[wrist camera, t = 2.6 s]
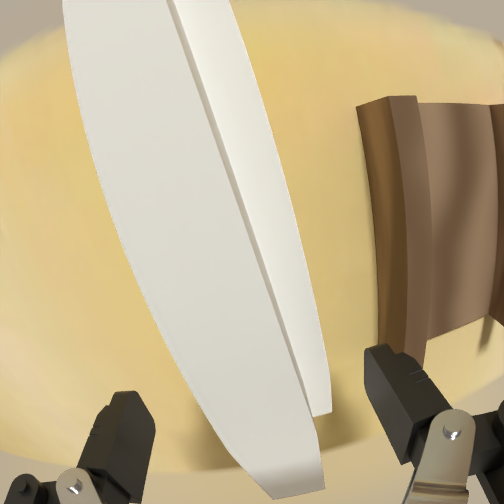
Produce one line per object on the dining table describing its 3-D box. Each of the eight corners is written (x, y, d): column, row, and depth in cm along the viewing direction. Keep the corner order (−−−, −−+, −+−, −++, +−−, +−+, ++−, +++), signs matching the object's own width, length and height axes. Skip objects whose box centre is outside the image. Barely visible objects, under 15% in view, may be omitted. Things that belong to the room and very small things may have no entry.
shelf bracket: (230, 23, 13) (256, -111, 2) (304, 353, 25) (342, 486, 14) (133, 52, 13) (-23, 7, 2) (243, 368, 26) (258, 504, 15)
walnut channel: (497, 106, 14) (535, 105, 11) (496, 306, 19) (524, 327, 16) (356, 106, 14) (388, 96, 11) (378, 352, 19) (400, 388, 16)
